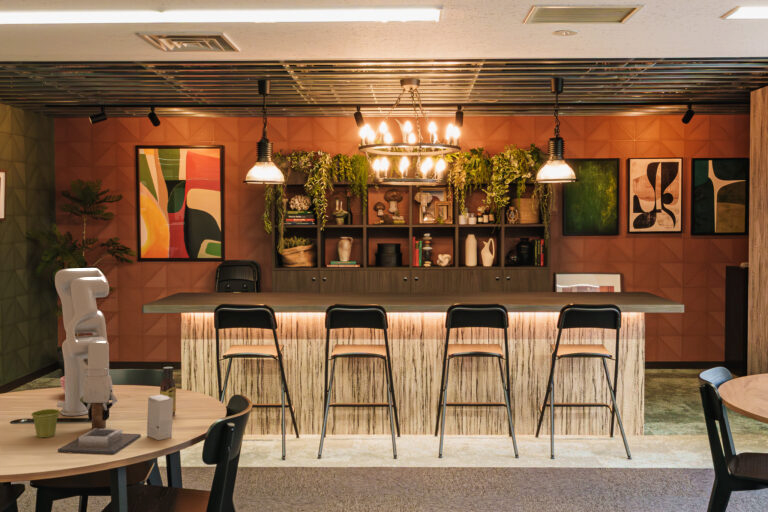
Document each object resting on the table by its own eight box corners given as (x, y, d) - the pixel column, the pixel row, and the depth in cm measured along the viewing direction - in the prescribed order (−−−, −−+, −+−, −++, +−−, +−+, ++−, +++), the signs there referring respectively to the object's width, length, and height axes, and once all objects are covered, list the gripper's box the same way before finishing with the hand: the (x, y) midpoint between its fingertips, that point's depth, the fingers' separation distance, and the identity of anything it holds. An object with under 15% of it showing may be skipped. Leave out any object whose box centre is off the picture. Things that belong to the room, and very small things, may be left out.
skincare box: (146, 436, 251) (146, 396, 251) (161, 432, 256) (161, 393, 256) (159, 440, 246) (158, 400, 246) (173, 437, 251) (173, 397, 250)
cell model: (97, 388, 327) (97, 365, 326) (103, 397, 310) (103, 372, 309) (58, 392, 318) (58, 368, 318) (63, 401, 301) (62, 376, 301)
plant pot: (41, 441, 245) (40, 417, 244) (26, 436, 250) (25, 413, 249) (65, 434, 253) (65, 411, 252) (50, 430, 258) (50, 407, 257)
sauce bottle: (170, 418, 276) (170, 369, 275) (156, 417, 277) (156, 368, 276) (178, 413, 282) (178, 366, 282) (165, 413, 284) (164, 365, 283)
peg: (89, 429, 259) (89, 403, 259) (95, 425, 264) (95, 400, 264) (101, 429, 259) (101, 403, 259) (108, 426, 264) (108, 400, 264)
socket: (58, 452, 233) (57, 440, 233) (88, 434, 253) (88, 424, 253) (113, 454, 231) (113, 442, 231) (140, 436, 251) (140, 426, 251)
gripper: (71, 373, 258) (72, 421, 259) (114, 375, 256) (115, 422, 257) (82, 369, 265) (82, 416, 266) (124, 371, 264) (124, 417, 264)
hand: (98, 418), depth 262 cm, fingers closed on peg, 5 cm apart
